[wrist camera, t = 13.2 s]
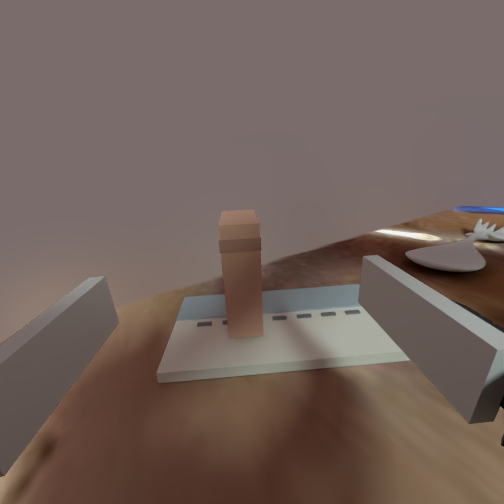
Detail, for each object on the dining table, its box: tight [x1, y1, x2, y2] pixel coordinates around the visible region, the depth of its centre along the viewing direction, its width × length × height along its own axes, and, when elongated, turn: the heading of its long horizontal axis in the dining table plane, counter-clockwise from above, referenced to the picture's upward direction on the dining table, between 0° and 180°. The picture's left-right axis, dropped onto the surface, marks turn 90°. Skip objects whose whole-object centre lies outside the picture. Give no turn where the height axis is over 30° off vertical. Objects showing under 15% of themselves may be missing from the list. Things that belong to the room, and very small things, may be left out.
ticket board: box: [156, 284, 410, 383], centre depth 24 cm, size 26×11×1 cm, turn 94°
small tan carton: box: [218, 210, 264, 339], centre depth 21 cm, size 3×6×10 cm, turn 4°
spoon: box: [405, 219, 504, 272], centre depth 40 cm, size 9×32×4 cm, turn 120°
